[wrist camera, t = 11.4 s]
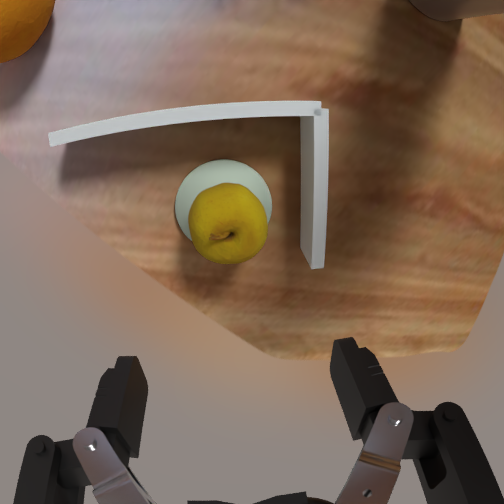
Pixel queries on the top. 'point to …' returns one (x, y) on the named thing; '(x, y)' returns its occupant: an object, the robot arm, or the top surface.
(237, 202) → the apple
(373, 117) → the top surface
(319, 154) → the grey corner wall
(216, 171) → the pad
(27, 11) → the fruit
